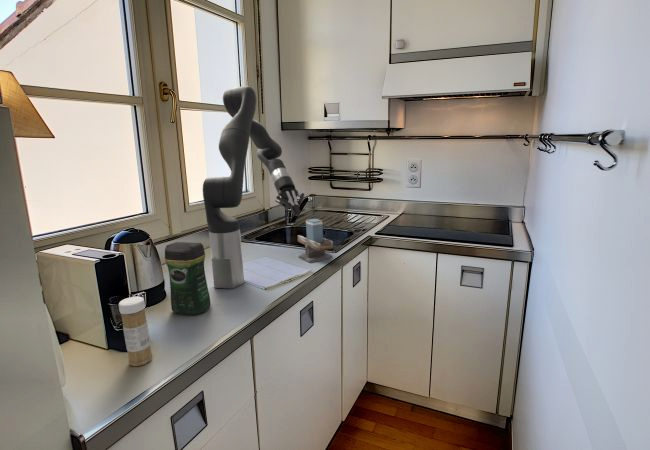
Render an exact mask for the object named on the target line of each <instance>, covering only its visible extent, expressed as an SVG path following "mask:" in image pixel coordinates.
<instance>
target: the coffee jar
mask: <svg viewBox="0 0 650 450" xmlns="http://www.w3.org/2000/svg"><path fill="white" fill-rule="evenodd" d="M164 248H165V249H164V261H165V263H166V266H167V269H168V276H169V277H168V278H169V285H170V287H169V288H170V305H171V311H172V312H173V313H175V314H179V315H184V316H186V315H187V316H188V315H189V316H194V315H195V316H196V315H198V314H201V313H204V312H206V311H207V310H208V309H209V308H210V307H211V304H212V303H211V298H210V291H209V288H208V283H207V277H206V271H205V259H206V252H205V248H204V244H202V242H192V241H191V242H187V241H175V242H174V241H173V242H172V243H168V244H167V245H165V247H164Z"/></svg>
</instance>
